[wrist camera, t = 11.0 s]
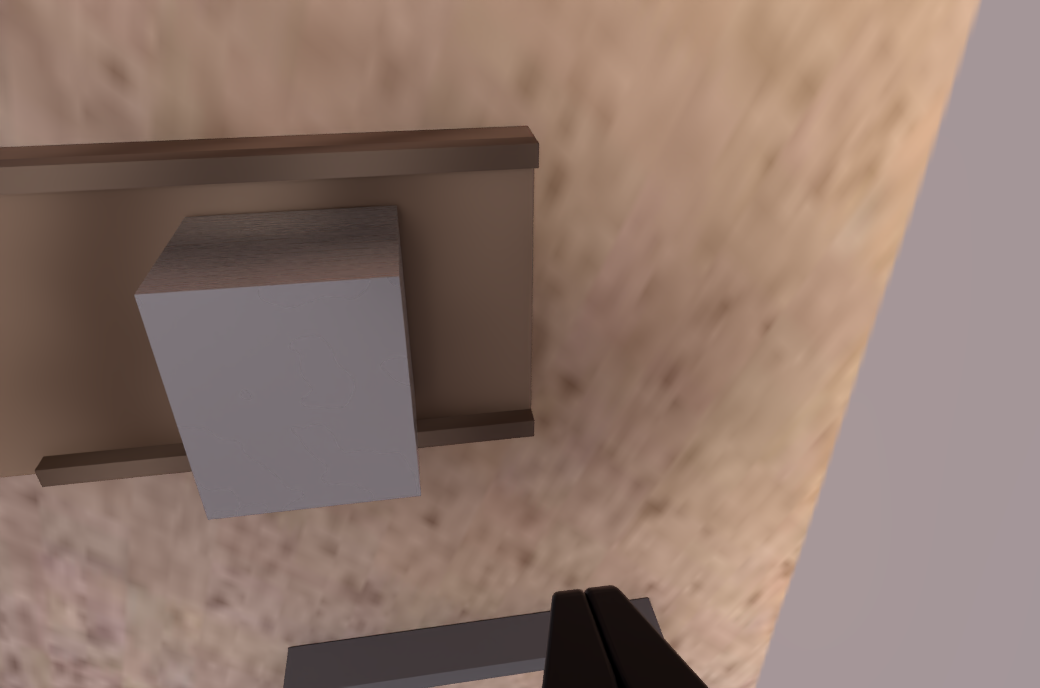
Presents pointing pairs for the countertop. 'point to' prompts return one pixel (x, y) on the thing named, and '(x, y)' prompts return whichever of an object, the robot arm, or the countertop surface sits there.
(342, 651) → the dark grey square frame
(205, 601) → the countertop surface
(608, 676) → the robot arm
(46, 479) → the track
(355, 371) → the grey small block
